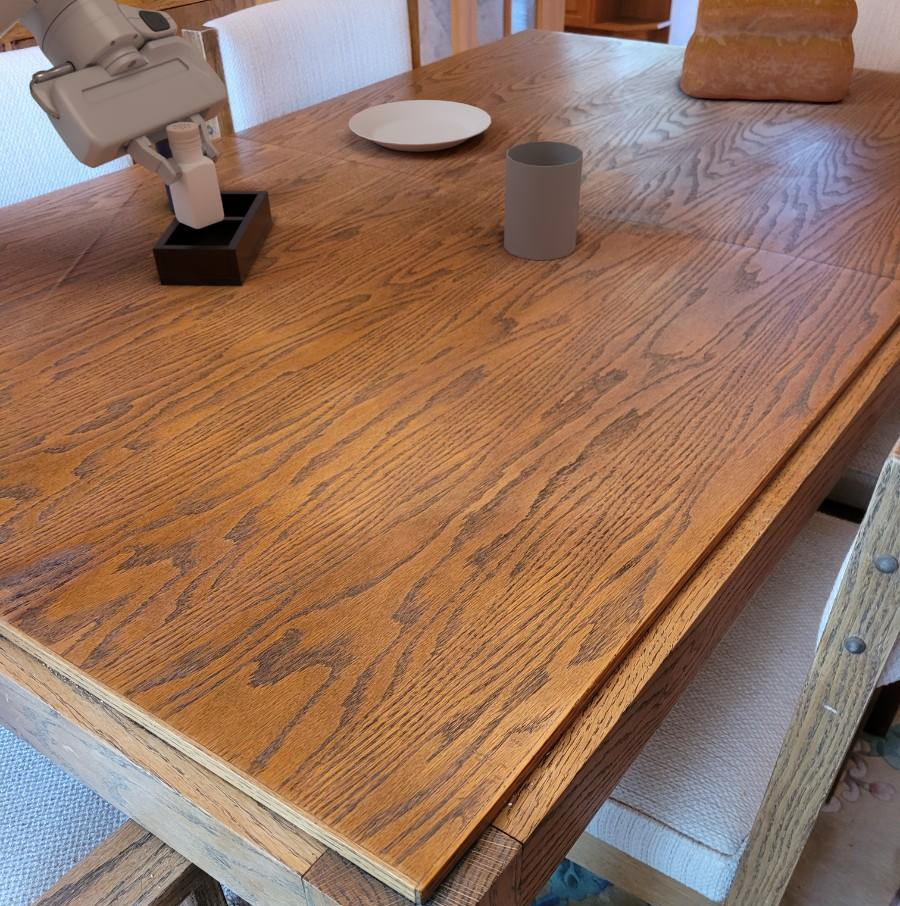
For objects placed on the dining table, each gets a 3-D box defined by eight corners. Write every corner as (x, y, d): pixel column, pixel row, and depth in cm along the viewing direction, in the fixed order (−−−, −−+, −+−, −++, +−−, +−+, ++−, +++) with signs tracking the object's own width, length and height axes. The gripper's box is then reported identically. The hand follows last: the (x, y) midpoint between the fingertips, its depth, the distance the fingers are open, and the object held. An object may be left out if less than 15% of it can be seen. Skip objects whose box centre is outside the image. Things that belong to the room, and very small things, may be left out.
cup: (494, 254, 103) (496, 161, 96) (515, 227, 108) (518, 138, 101) (566, 264, 101) (573, 170, 94) (583, 236, 106) (591, 145, 99)
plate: (519, 141, 131) (520, 124, 130) (397, 171, 123) (396, 154, 121) (440, 107, 144) (440, 92, 142) (324, 132, 136) (323, 116, 134)
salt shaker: (197, 232, 95) (177, 135, 89) (175, 222, 97) (153, 127, 91) (227, 220, 98) (210, 125, 91) (205, 212, 100) (186, 117, 93)
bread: (678, 79, 154) (693, -28, 143) (837, 83, 150) (865, -26, 140) (679, 101, 144) (696, -12, 134) (849, 107, 141) (880, -9, 130)
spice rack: (160, 285, 98) (151, 248, 96) (200, 224, 111) (193, 190, 108) (241, 285, 98) (235, 249, 95) (272, 224, 110) (267, 190, 107)
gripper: (27, 53, 81) (135, 183, 85) (179, 9, 94) (268, 123, 98) (10, 101, 86) (113, 223, 89) (157, 53, 99) (242, 161, 102)
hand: (195, 170), depth 94 cm, fingers closed on salt shaker, 4 cm apart
